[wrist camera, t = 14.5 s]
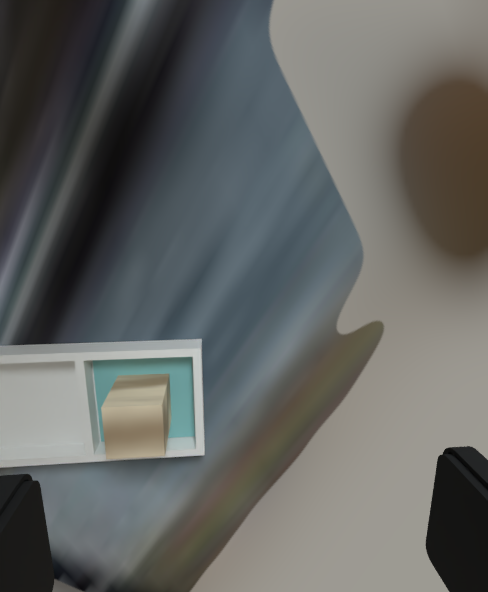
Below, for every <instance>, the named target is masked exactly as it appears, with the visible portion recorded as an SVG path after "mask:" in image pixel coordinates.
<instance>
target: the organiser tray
mask: <svg viewBox="0 0 488 592" xmlns="http://www.w3.org/2000/svg"><path fill="white" fill-rule="evenodd" d="M143 374H169V376H170V396H171V417H172V418H171V424H170V430H169V435H168V441H167V447H166V453H165V456H157V457H139V458H122V459H106V451H105V441H104V431H103V421H102V411H101V407H102V405H103V403H104V401H105V399H106V397H107V396H108V394H109V392H110V390H111V388H112V386H113V384H114V382H115V380H116V379H117V377H118V375H143ZM204 453H205V432H204V400H203V367H202V339H187V340H157V341H127V342H97V343H67V344H37V345H7V346H0V468H1V467H18V466H34V465H51V464H67V463H84V462H100V461H117V460H133V459H149V458H166V457H182V456H199V455H204Z"/></svg>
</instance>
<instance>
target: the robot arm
mask: <svg viewBox="0 0 488 592" xmlns="http://www.w3.org/2000/svg"><path fill="white" fill-rule="evenodd" d="M426 550H427V554H428V556H429V559H430V561H431V562H432V564H433V566H434V568H435V569H436V571H437V572H438V574H439V576H440V577H441V579H442V580H443V582H444V584H445V585H446V587H447V588H448V590H449V592H488V460H487V459H486V458H485V457H484V456H483V455H482V454H480V453H479V452H478V451H477V450H476V449H475V448H473V447H470V446H467V447H452V448H446V449H445V450H444V452H443V455H440V456H439V457H438V461H437V468H436V475H435V482H434V489H433V496H432V502H431V510H430V516H429V523H428V530H427V537H426ZM53 585H54V570H53V564H52V557H51V551H50V545H49V538H48V532H47V526H46V519H45V513H44V507H43V500H42V494H41V488H40V483H39V482H38V481H33V480H32V477H31V476H30V475H29V474H20V475H4V476H0V592H52V590H53Z"/></svg>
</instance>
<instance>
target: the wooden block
mask: <svg viewBox="0 0 488 592" xmlns="http://www.w3.org/2000/svg"><path fill="white" fill-rule="evenodd" d="M101 411H102V421H103V431H104V441H105V451H106V459H122V458H139V457H157V456H165V453H166V447H167V441H168V435H169V430H170V424H171V418H172V417H171V396H170V376H169V374H143V375H118V377H117V379H116V380H115V382H114V384H113V386H112V388H111V390H110V392H109V394H108V396H107V397H106V399H105V401H104V403H103V405H102V407H101Z"/></svg>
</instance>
